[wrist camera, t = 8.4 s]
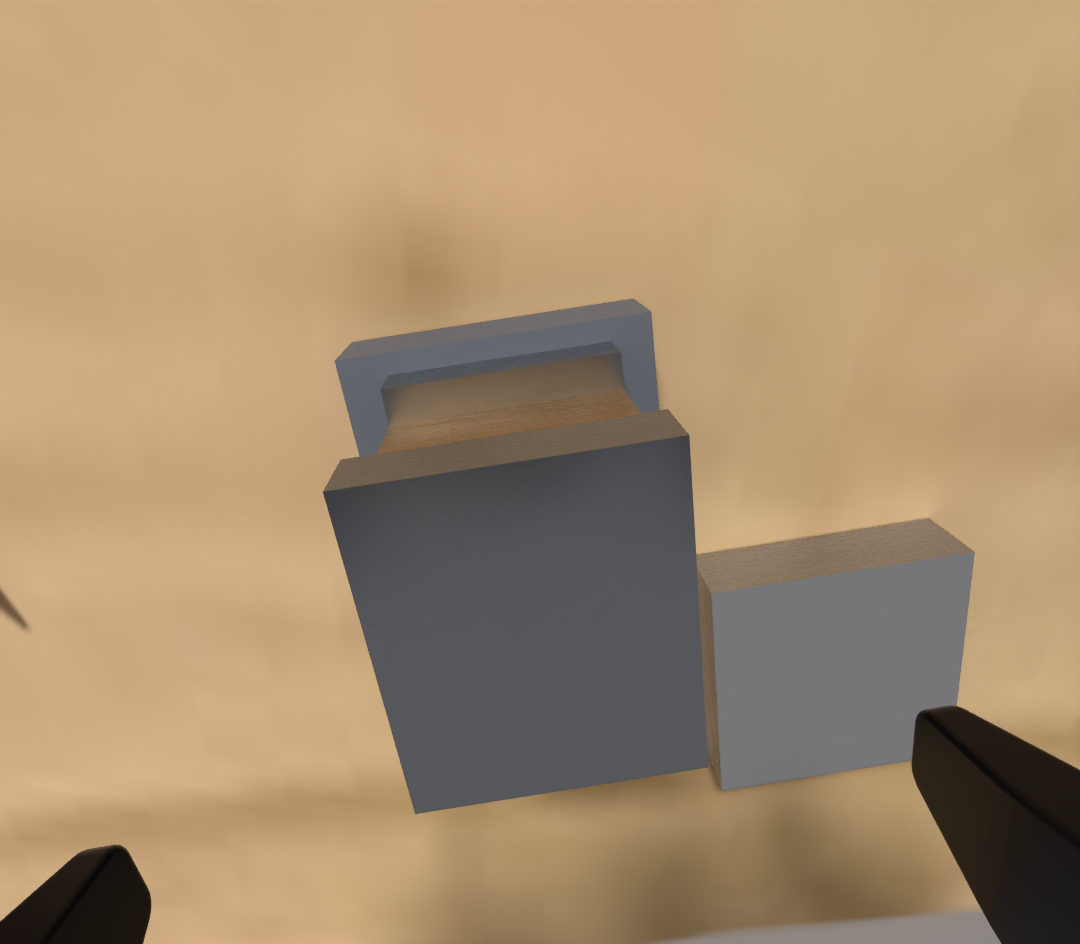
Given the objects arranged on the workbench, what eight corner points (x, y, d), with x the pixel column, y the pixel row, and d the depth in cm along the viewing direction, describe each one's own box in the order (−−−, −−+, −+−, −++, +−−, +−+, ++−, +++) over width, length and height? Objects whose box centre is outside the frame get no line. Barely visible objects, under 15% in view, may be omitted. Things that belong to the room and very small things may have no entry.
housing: (634, 572, 17) (708, 766, 12) (440, 603, 17) (415, 814, 12) (611, 341, 15) (689, 435, 9) (388, 374, 15) (323, 491, 9)
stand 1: (633, 298, 17) (651, 311, 15) (655, 546, 20) (672, 583, 18) (352, 342, 17) (334, 360, 15) (412, 585, 19) (404, 626, 18)
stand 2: (929, 518, 20) (974, 551, 18) (912, 707, 22) (950, 753, 21) (690, 556, 20) (711, 593, 18) (702, 741, 22) (721, 791, 21)
